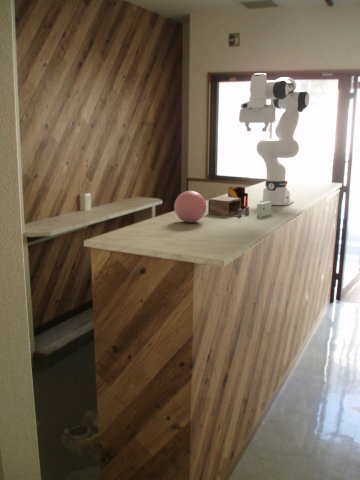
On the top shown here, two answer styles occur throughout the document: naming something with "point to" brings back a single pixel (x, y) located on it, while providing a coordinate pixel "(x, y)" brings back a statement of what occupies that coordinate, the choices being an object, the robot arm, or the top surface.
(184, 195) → the balloon
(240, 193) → the mug
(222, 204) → the cabinet
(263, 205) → the door
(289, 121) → the robot arm
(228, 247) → the top surface
